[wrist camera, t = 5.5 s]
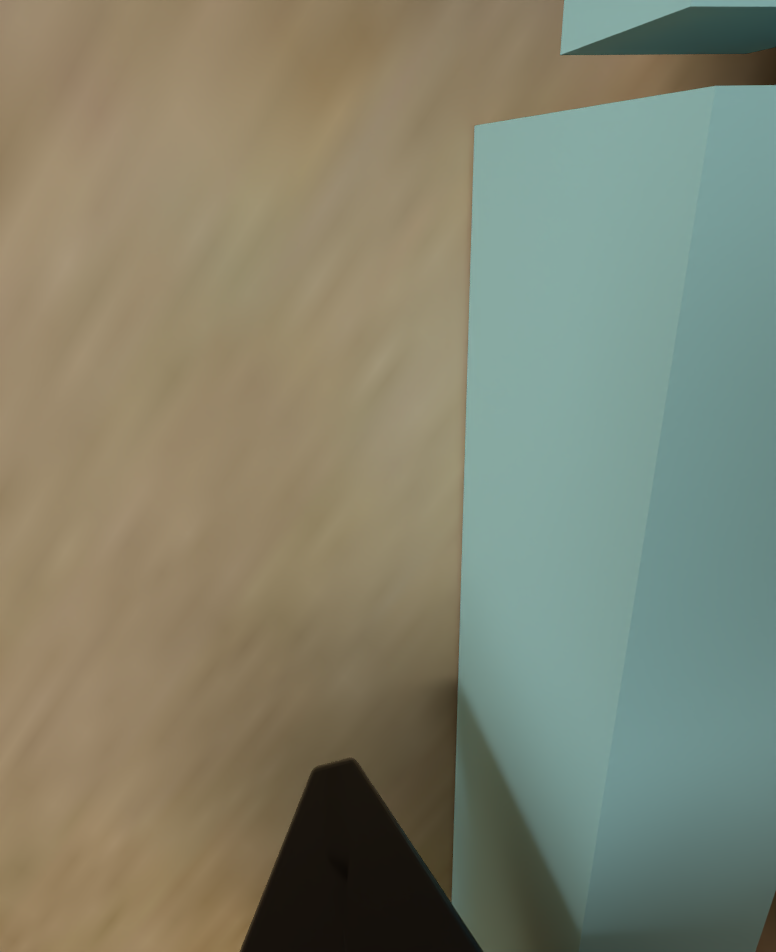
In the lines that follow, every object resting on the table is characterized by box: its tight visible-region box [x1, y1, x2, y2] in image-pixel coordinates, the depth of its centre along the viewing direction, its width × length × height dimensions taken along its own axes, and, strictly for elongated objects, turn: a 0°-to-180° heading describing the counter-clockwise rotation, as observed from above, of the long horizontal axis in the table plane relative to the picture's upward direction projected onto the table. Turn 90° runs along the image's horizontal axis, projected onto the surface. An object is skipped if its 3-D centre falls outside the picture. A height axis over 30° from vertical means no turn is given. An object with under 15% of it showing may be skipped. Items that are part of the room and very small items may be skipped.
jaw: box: [452, 0, 776, 952], centre depth 6 cm, size 15×2×4 cm, turn 1°
